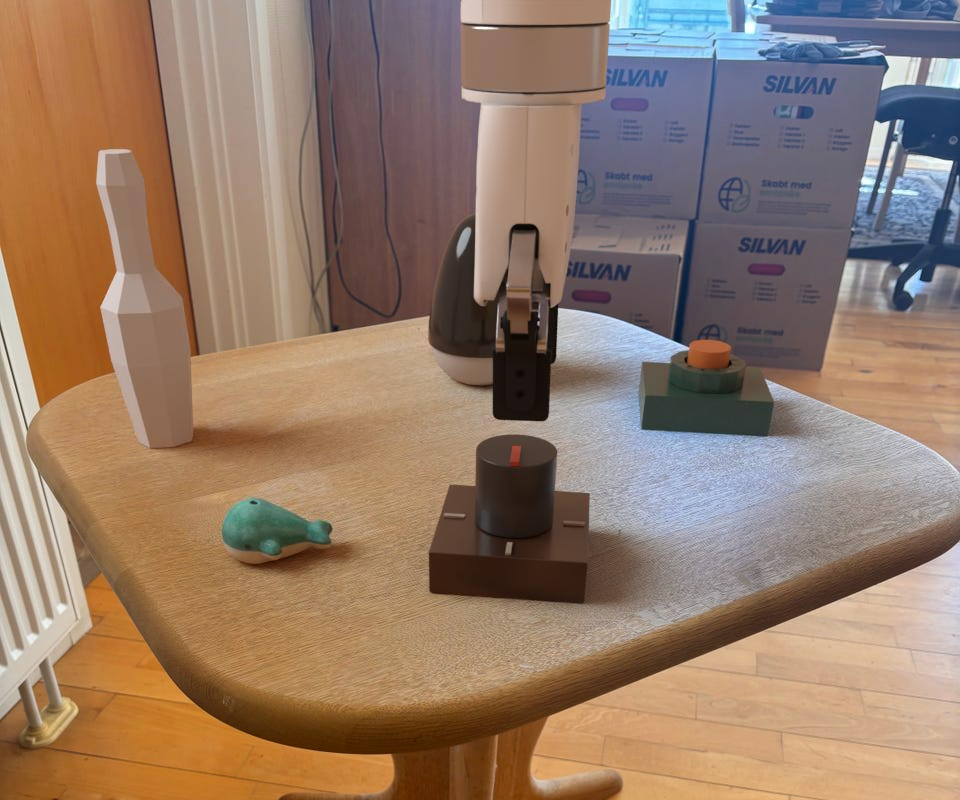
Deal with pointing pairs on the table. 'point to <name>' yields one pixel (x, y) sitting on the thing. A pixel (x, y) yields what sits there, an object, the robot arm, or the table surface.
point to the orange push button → (709, 354)
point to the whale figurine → (270, 532)
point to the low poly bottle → (143, 313)
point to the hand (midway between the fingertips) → (526, 388)
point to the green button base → (704, 398)
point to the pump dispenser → (462, 313)
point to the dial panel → (511, 553)
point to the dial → (515, 485)
